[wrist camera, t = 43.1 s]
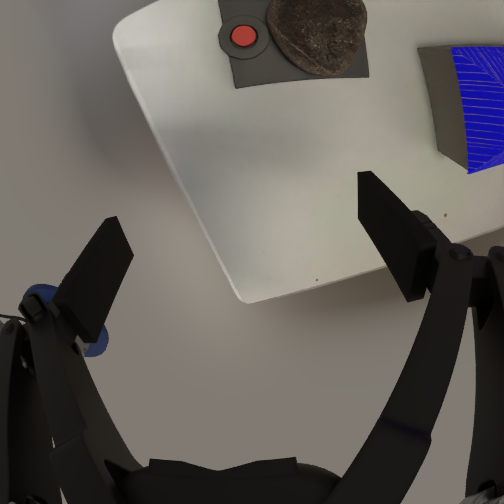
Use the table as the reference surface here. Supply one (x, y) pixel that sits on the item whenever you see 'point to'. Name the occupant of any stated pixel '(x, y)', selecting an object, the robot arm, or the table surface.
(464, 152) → the house
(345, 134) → the table surface
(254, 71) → the scale
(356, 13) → the stone
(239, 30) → the tare button
